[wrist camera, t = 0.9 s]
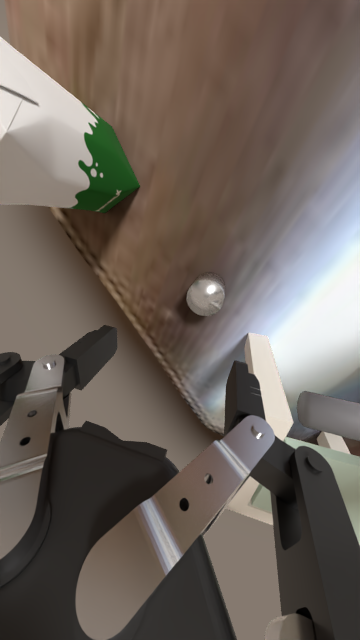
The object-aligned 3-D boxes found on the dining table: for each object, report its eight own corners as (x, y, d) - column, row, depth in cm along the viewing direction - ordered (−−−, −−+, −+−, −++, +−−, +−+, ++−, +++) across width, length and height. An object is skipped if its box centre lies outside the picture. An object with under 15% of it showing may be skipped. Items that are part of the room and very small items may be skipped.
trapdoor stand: (248, 332, 31) (259, 413, 18) (398, 359, 27) (558, 491, 14) (225, 414, 41) (221, 506, 28) (333, 443, 37) (389, 567, 24)
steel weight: (228, 274, 28) (227, 283, 24) (222, 305, 30) (220, 318, 26) (195, 270, 29) (188, 278, 25) (191, 300, 31) (185, 312, 27)
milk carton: (113, 112, 23) (-258, -233, 6) (149, 190, 26) (-26, 120, 8) (68, 159, 26) (-245, 35, 9) (104, 223, 29) (-84, 221, 12)
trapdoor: (286, 380, 22) (300, 422, 17) (435, 413, 19) (500, 473, 14) (249, 462, 30) (251, 505, 25) (349, 493, 27) (372, 547, 23)
